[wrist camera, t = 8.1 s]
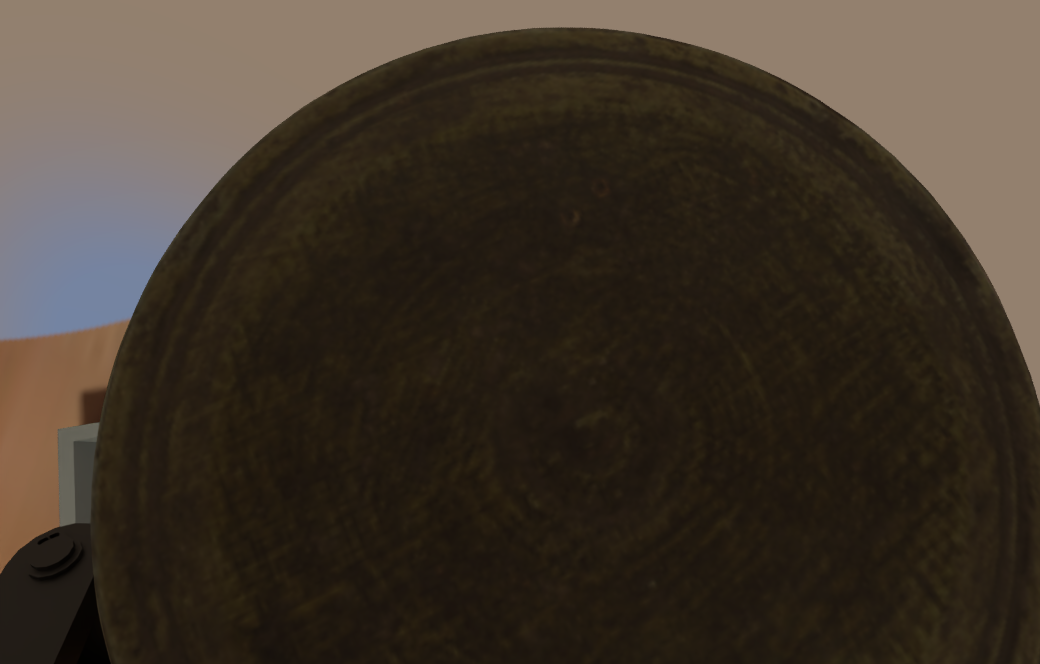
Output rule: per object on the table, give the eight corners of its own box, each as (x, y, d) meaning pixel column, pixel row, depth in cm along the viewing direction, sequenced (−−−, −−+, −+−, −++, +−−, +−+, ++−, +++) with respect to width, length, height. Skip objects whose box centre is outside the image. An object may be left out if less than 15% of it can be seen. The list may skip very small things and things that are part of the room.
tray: (97, 725, 31) (64, 748, 29) (88, 431, 34) (57, 429, 32) (392, 660, 33) (385, 676, 30) (357, 385, 36) (348, 379, 34)
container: (474, 298, 24) (425, -168, 6) (665, 413, 23) (1241, 270, 5) (347, 493, 22) (-266, 650, 4) (552, 624, 21) (861, 1466, 4)
